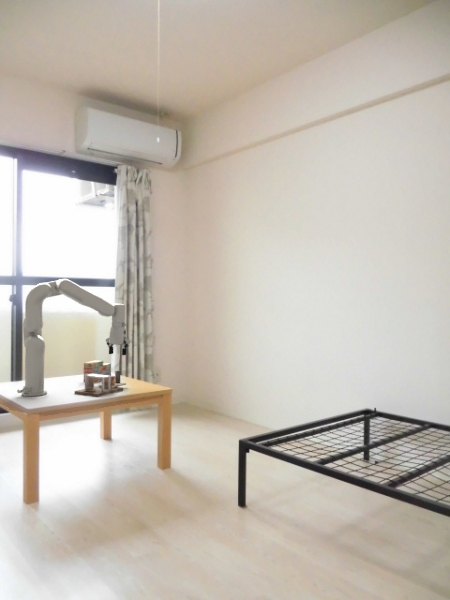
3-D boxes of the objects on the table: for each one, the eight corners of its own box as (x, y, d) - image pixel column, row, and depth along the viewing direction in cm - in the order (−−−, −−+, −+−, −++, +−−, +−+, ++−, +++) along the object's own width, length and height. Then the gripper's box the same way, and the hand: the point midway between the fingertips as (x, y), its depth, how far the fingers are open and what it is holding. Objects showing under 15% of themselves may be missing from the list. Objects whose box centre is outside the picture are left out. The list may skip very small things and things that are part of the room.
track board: (97, 397, 249) (97, 394, 249) (74, 393, 256) (74, 391, 256) (123, 390, 268) (123, 387, 268) (101, 387, 275) (101, 385, 275)
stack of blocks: (102, 377, 312) (103, 358, 312) (111, 377, 310) (111, 358, 310) (83, 382, 292) (83, 362, 292) (92, 383, 290) (92, 363, 290)
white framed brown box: (111, 388, 264) (111, 374, 264) (98, 386, 268) (98, 372, 268) (126, 384, 275) (126, 371, 275) (113, 383, 279) (114, 369, 279)
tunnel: (102, 391, 255) (103, 377, 255) (84, 389, 261) (84, 375, 261) (110, 390, 260) (110, 375, 260) (92, 387, 266) (92, 373, 266)
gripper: (134, 325, 275) (133, 355, 275) (111, 324, 283) (110, 352, 283) (126, 326, 268) (125, 356, 268) (102, 324, 276) (101, 354, 276)
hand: (117, 354), depth 275 cm, fingers open, 9 cm apart
